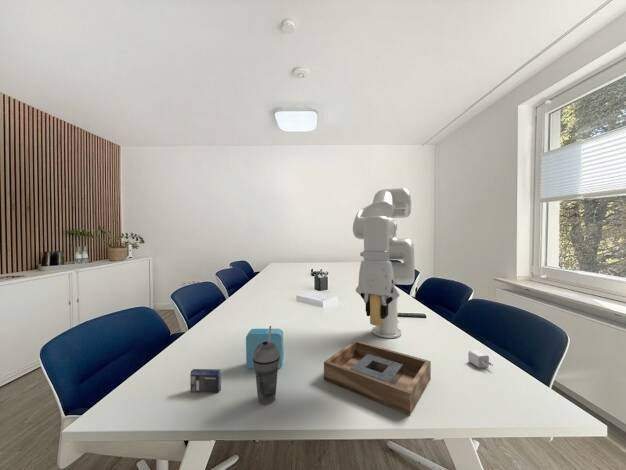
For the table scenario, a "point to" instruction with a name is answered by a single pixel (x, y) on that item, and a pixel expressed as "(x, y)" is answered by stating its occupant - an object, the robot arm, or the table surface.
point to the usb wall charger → (478, 358)
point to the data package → (257, 338)
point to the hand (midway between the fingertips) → (376, 315)
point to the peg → (375, 310)
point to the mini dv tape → (205, 380)
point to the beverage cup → (266, 370)
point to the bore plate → (379, 368)
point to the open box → (393, 396)
